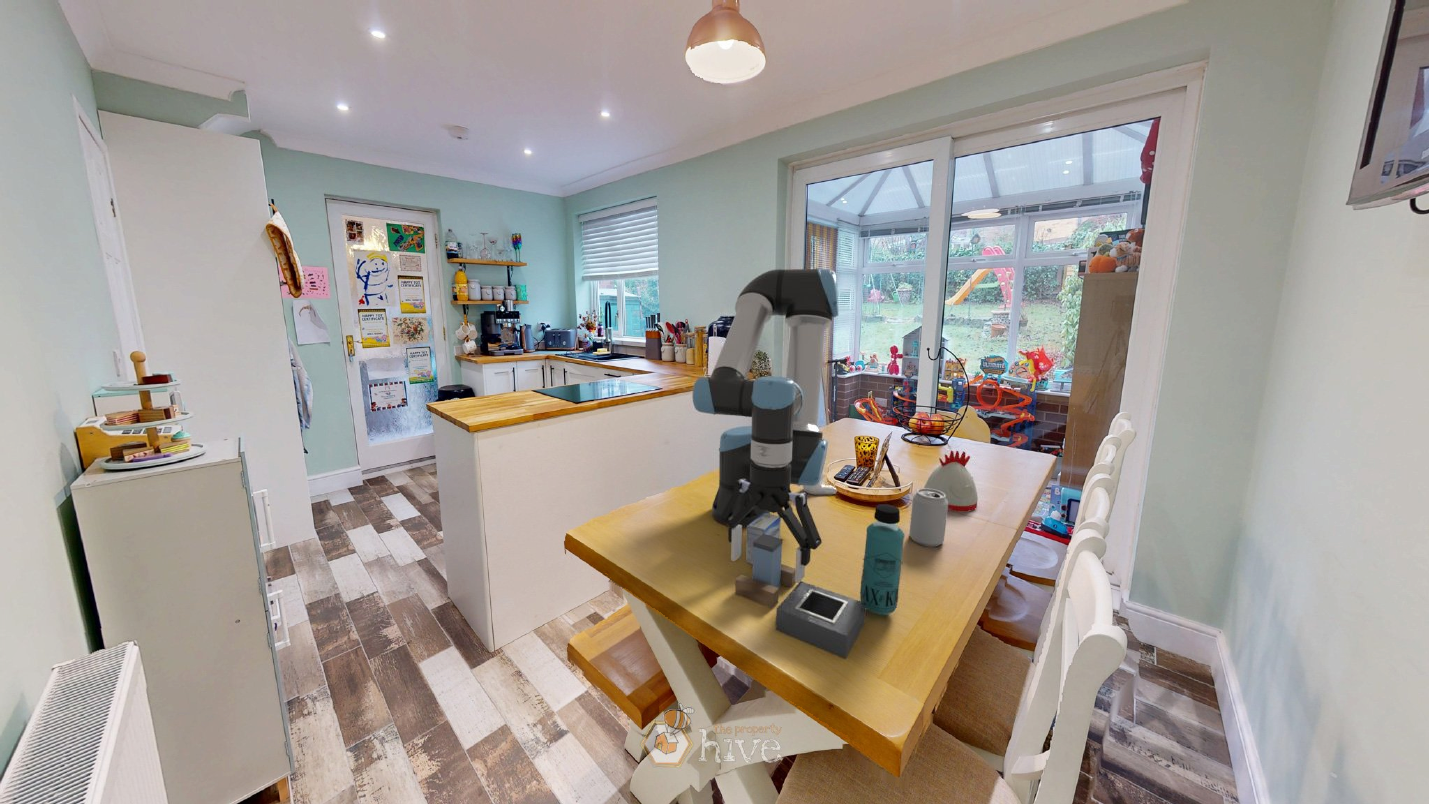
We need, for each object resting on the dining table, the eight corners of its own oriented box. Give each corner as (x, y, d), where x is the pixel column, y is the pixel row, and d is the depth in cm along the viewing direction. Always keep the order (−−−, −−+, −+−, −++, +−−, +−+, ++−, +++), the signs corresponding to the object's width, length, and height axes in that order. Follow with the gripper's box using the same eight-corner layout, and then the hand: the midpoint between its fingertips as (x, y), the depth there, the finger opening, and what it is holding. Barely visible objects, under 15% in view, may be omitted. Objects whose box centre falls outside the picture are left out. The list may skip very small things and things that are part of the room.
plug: (751, 589, 92) (753, 541, 90) (761, 580, 95) (763, 533, 94) (770, 597, 90) (772, 548, 88) (780, 586, 93) (782, 539, 91)
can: (947, 549, 108) (953, 500, 106) (912, 546, 110) (917, 497, 108) (939, 534, 116) (944, 487, 113) (906, 531, 117) (910, 485, 115)
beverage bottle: (853, 601, 89) (861, 500, 85) (887, 599, 89) (897, 499, 86) (867, 624, 82) (876, 515, 79) (904, 622, 83) (915, 514, 79)
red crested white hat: (986, 512, 129) (993, 459, 126) (935, 511, 129) (941, 458, 126) (961, 492, 143) (967, 444, 140) (915, 491, 143) (919, 443, 140)
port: (775, 629, 81) (776, 607, 80) (799, 600, 89) (800, 580, 88) (845, 658, 74) (847, 634, 73) (864, 624, 82) (866, 602, 82)
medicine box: (764, 568, 100) (765, 530, 98) (745, 562, 102) (746, 524, 100) (779, 552, 106) (781, 516, 105) (761, 547, 109) (763, 511, 107)
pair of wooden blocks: (735, 593, 91) (735, 579, 90) (760, 570, 99) (760, 557, 98) (773, 608, 86) (773, 593, 86) (795, 582, 95) (796, 568, 94)
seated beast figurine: (838, 494, 140) (840, 455, 138) (815, 499, 136) (818, 459, 134) (816, 484, 148) (818, 446, 146) (794, 488, 144) (796, 450, 142)
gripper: (703, 454, 91) (702, 557, 95) (829, 481, 78) (821, 599, 82) (724, 446, 98) (722, 542, 101) (844, 469, 84) (836, 579, 88)
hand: (766, 568), depth 92 cm, fingers open, 13 cm apart
